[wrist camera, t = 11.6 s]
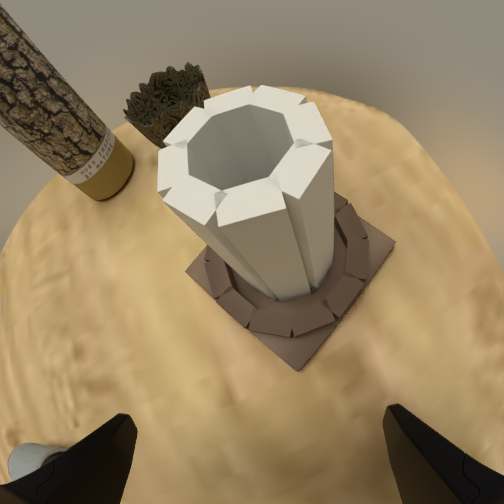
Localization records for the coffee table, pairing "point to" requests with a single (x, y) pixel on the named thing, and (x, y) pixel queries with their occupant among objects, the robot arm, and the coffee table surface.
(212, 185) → the tube
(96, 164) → the paper tube
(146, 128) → the cup
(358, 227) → the holder
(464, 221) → the coffee table surface
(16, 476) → the ceramic mug
